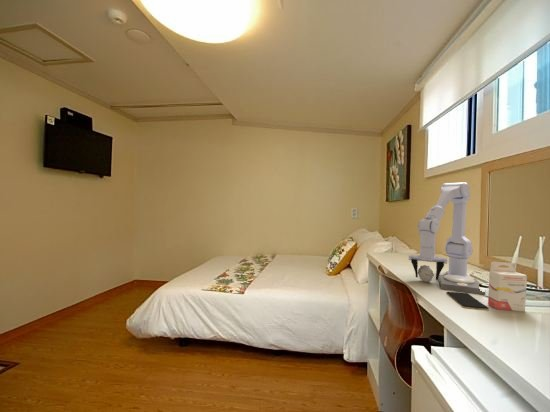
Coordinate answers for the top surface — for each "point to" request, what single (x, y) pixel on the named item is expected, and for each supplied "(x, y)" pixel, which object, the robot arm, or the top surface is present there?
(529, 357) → the top surface
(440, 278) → the kitchen scale
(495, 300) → the ink cartridge box
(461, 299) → the smartphone
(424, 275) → the gray bumpy ball
